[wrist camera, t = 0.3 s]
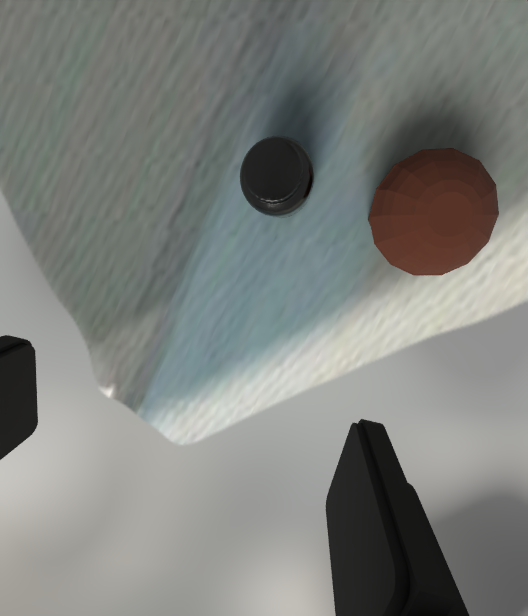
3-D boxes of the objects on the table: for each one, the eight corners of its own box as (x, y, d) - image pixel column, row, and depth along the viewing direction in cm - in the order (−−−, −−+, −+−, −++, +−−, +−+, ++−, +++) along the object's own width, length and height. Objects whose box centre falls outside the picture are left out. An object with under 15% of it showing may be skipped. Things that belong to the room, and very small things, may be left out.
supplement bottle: (319, 164, 34) (329, 136, 23) (301, 224, 36) (302, 226, 25) (261, 147, 34) (242, 112, 23) (246, 208, 36) (222, 203, 25)
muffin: (337, 209, 35) (351, 205, 26) (420, 137, 32) (471, 103, 23) (397, 285, 37) (431, 308, 27) (482, 223, 34) (553, 225, 25)
